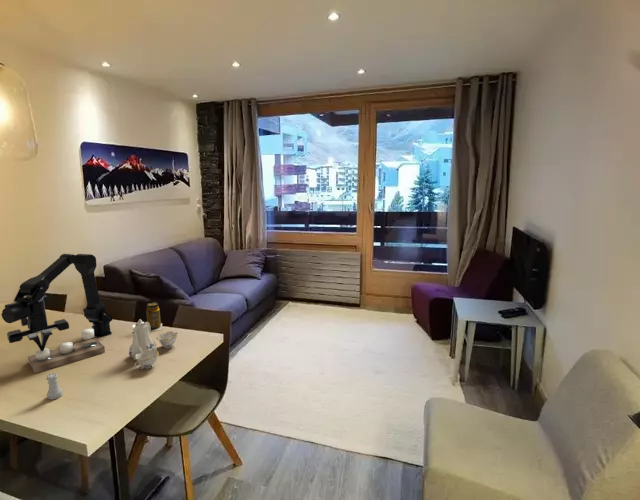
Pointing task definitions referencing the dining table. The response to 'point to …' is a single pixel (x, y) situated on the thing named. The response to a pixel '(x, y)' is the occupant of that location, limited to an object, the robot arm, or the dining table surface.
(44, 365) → the knob rail
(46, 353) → the knob
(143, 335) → the chinaware
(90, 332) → the knob
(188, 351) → the dining table surface
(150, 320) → the condiment
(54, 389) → the rook chess piece
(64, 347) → the knob mid
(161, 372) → the dining table surface
